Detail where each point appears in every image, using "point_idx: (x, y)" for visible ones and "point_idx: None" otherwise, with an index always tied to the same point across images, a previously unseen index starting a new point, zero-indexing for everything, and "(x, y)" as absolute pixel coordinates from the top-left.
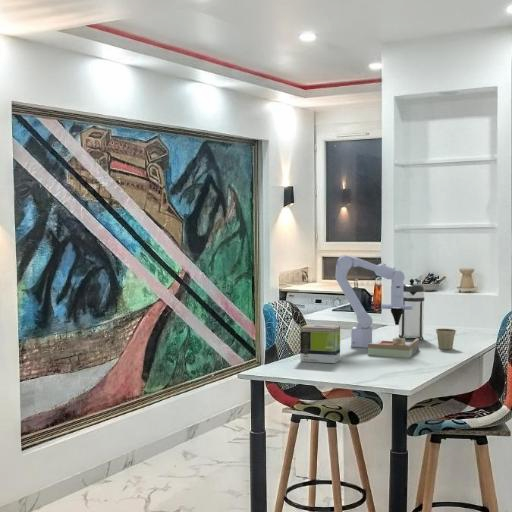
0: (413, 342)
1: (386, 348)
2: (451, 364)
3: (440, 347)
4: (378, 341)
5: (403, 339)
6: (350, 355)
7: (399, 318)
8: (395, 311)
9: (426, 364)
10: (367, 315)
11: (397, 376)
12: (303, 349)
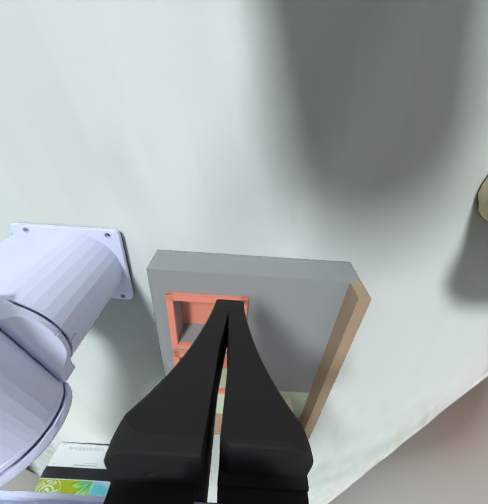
0: (328, 390)
1: None
2: (406, 433)
3: (483, 217)
4: (152, 299)
5: None
6: (134, 405)
7: (247, 348)
8: (206, 496)
9: (342, 441)
10: (2, 484)
11: None
12: None
